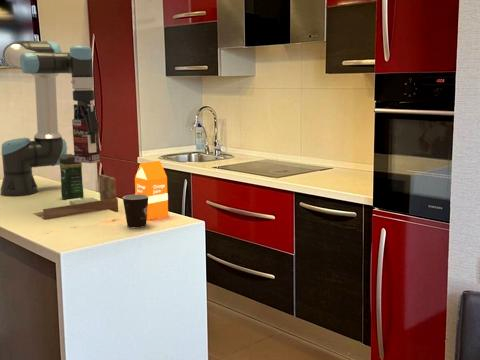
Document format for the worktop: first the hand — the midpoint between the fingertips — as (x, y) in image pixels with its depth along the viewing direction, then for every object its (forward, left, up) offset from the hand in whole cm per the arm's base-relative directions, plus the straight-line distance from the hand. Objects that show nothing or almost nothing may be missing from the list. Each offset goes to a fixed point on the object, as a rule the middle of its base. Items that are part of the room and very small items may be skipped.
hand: (86, 151), depth 220 cm
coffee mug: (+29, +2, -23) cm, 38 cm away
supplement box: (0, 0, -4) cm, 4 cm away
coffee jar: (-27, +4, -23) cm, 36 cm away
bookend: (+1, -6, -20) cm, 21 cm away
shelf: (0, -6, -23) cm, 24 cm away
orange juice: (+21, +14, -23) cm, 35 cm away
